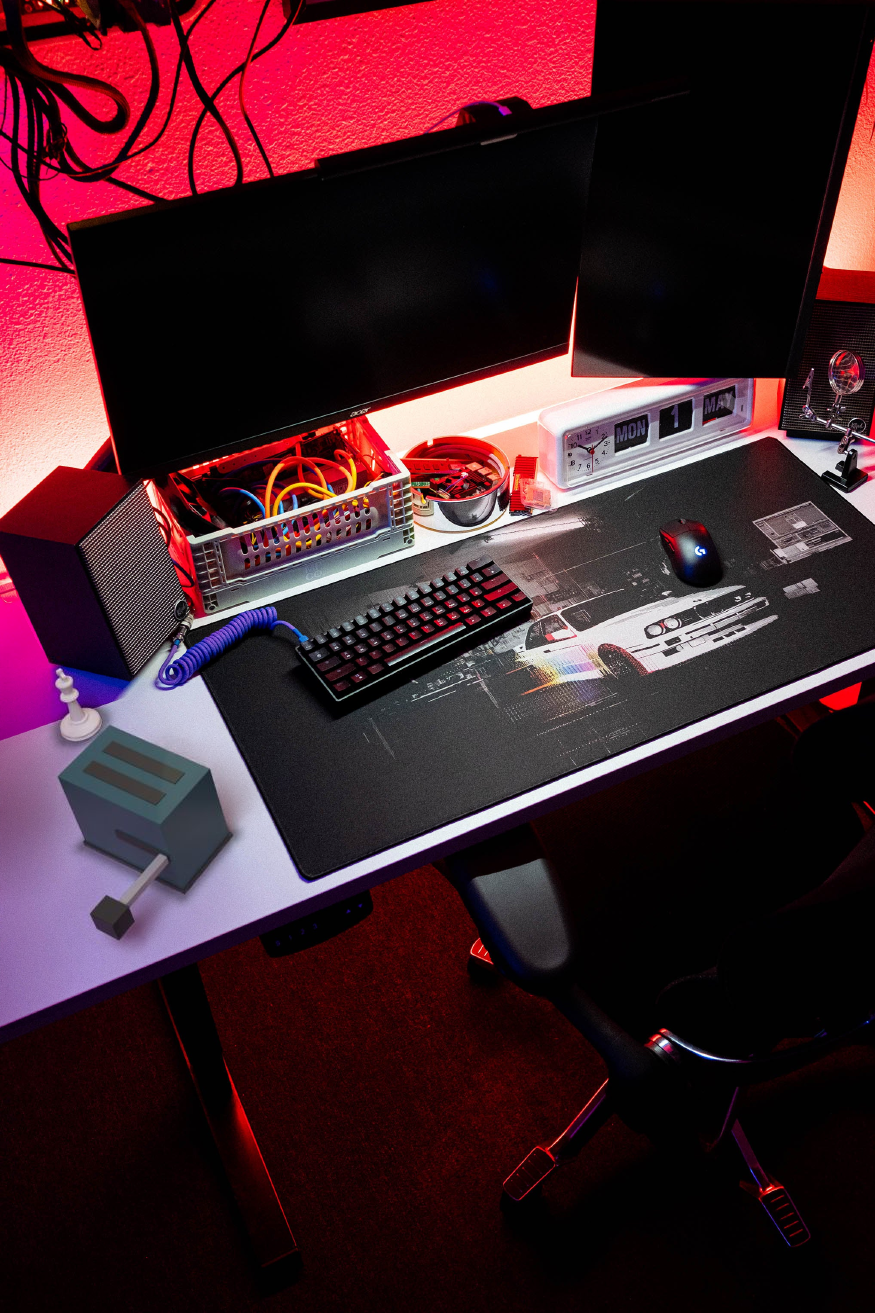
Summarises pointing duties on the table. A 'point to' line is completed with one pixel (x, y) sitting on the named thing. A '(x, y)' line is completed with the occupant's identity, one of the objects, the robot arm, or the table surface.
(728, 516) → the table surface
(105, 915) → the slider
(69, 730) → the chess piece
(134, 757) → the toaster
